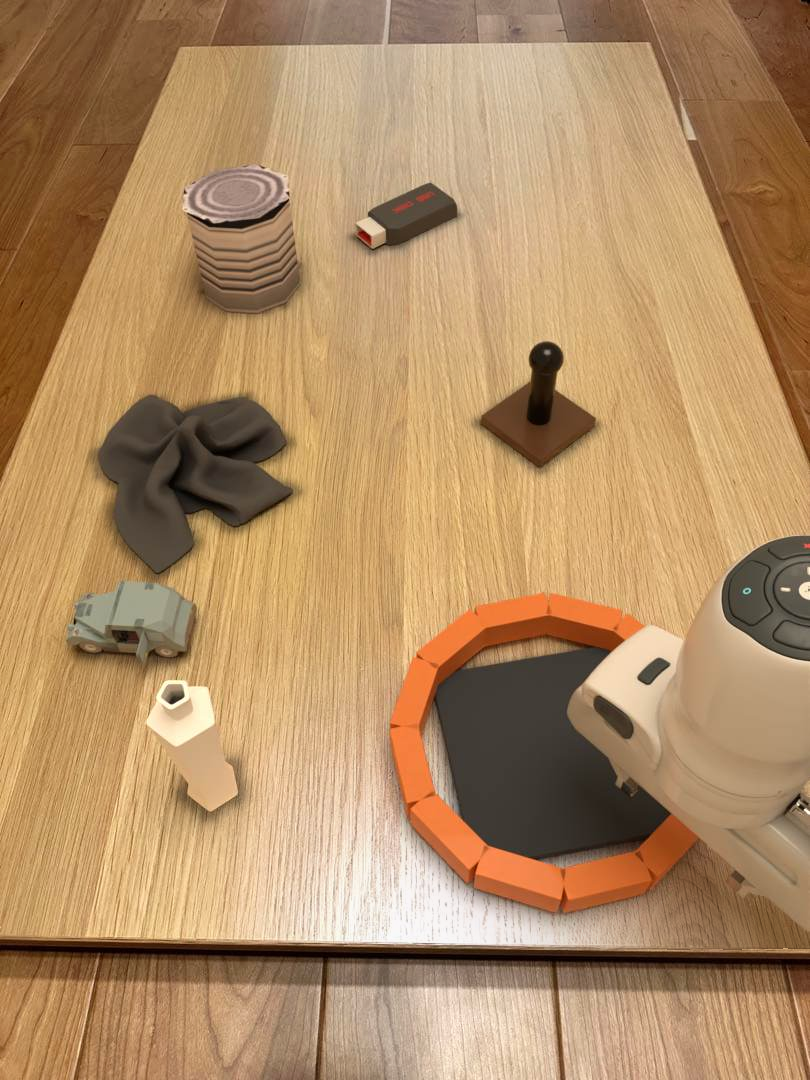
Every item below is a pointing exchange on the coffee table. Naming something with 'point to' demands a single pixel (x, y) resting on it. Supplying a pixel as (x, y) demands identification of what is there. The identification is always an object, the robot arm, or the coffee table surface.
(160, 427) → the cloth
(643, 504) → the coffee table surface
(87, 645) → the toy car
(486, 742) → the mat
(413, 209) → the usb drive
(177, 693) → the cream vase
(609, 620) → the hoop
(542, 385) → the post
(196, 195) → the can
